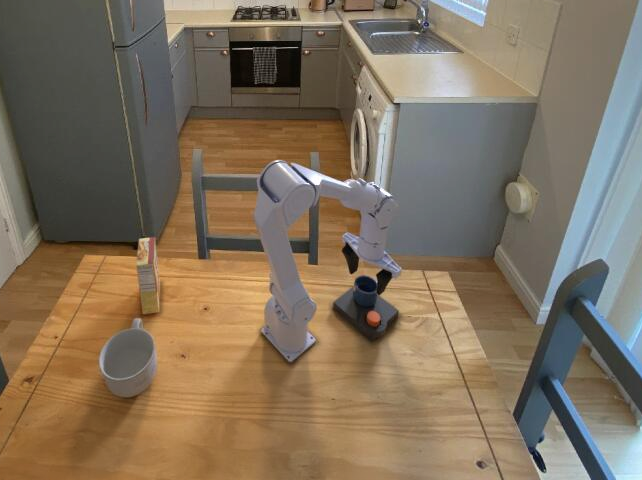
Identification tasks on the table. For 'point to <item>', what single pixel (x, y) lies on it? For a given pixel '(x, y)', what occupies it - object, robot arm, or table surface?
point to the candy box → (148, 275)
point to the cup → (365, 291)
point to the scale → (365, 314)
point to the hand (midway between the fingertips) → (366, 281)
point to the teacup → (129, 361)
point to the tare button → (373, 319)
